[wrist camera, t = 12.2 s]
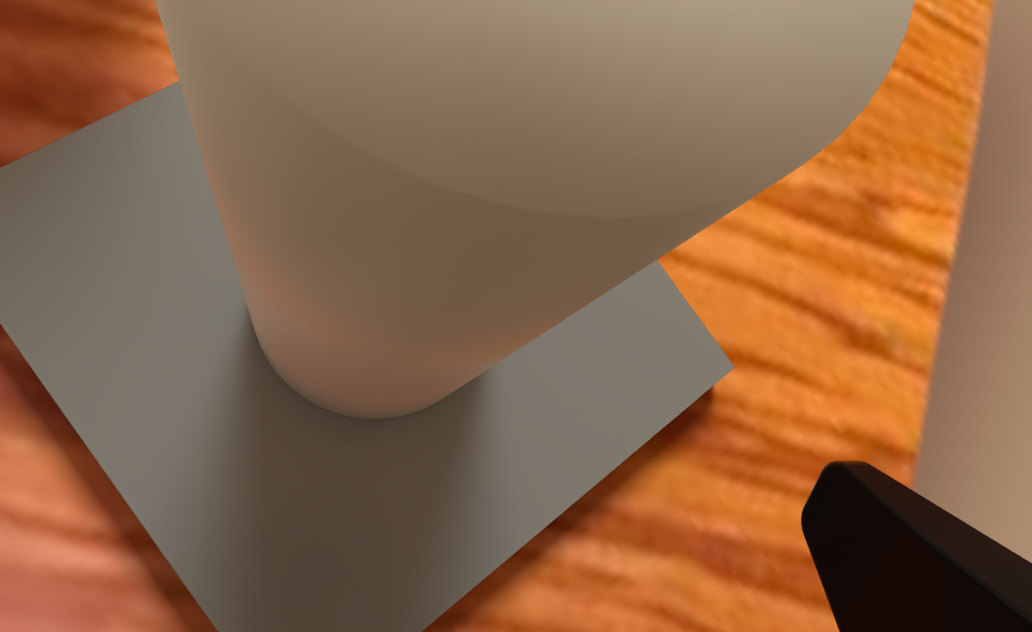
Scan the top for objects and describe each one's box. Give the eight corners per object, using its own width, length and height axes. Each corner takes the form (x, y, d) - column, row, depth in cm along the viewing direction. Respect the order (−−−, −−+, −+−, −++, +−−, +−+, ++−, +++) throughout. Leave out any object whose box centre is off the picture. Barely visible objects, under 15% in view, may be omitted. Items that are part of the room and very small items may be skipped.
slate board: (713, 373, 19) (734, 367, 18) (293, 724, 15) (294, 739, 14) (430, -19, 20) (437, -45, 19) (-60, 224, 15) (-83, 207, 14)
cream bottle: (537, 297, 17) (1036, -111, 6) (383, 471, 16) (625, 413, 4) (369, 141, 17) (518, -630, 5) (195, 301, 15) (-151, -300, 4)
